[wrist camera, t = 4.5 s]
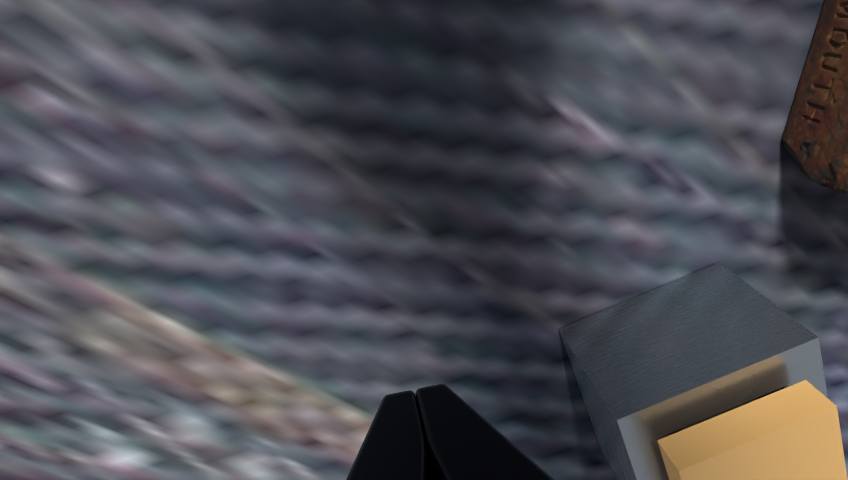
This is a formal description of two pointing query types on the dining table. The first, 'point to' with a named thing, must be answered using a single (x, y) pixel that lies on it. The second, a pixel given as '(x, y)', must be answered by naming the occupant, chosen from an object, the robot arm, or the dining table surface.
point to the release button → (761, 441)
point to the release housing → (682, 362)
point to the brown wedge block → (823, 103)
